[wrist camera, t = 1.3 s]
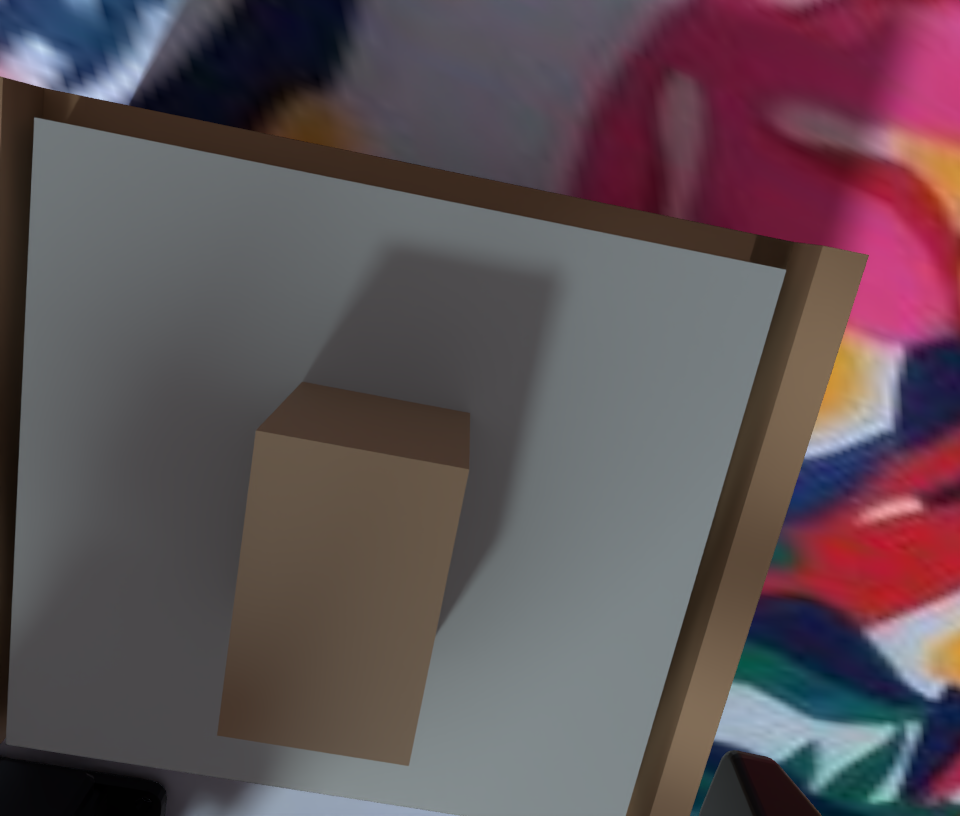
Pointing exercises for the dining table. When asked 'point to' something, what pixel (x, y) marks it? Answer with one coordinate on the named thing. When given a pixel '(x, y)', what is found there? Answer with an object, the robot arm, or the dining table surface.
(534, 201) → the walnut box
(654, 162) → the dining table surface
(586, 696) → the lid
